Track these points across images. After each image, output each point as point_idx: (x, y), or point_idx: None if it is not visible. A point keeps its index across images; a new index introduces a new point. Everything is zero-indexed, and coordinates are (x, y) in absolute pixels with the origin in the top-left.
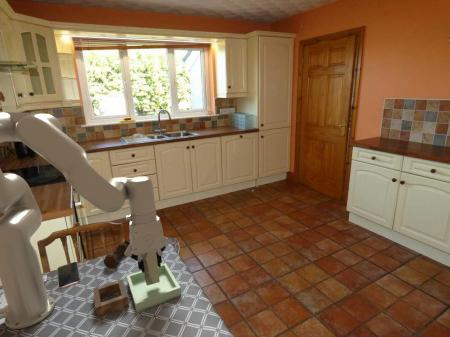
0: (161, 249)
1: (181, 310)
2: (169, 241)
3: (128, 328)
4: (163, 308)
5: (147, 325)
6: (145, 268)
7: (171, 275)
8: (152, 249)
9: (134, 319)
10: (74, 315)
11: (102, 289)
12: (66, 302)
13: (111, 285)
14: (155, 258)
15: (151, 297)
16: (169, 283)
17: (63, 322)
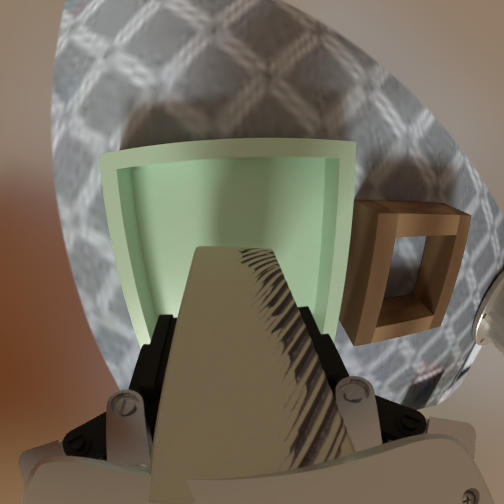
0: (104, 441)
1: (149, 56)
2: (21, 465)
3: (376, 80)
4: (219, 100)
5: (309, 46)
6: (294, 315)
7: (127, 279)
8: (199, 500)
9: (351, 108)
10: (471, 252)
11: (422, 314)
12: (462, 313)
13: (398, 322)
14: (181, 372)
15: (270, 144)
16: (152, 255)
17: (488, 239)
